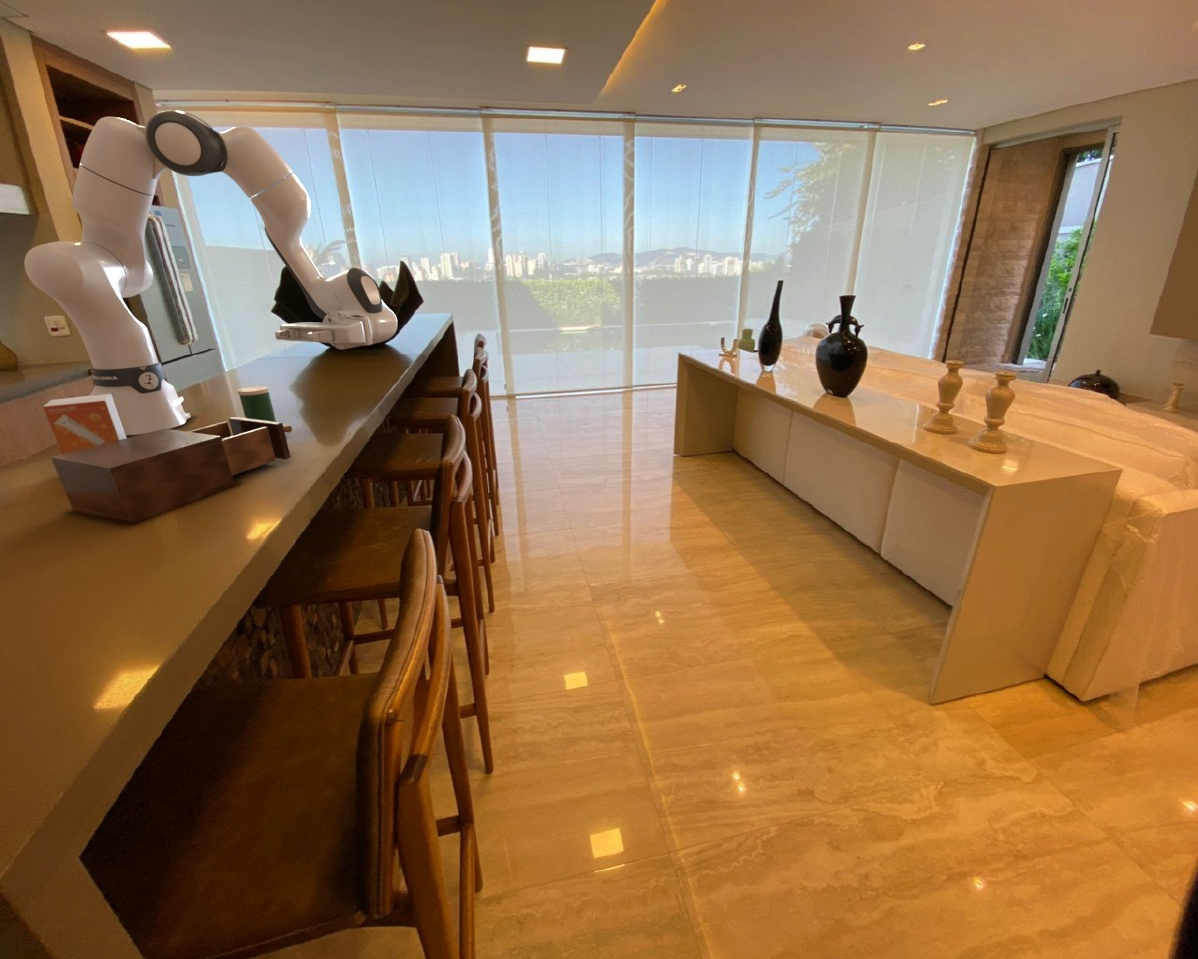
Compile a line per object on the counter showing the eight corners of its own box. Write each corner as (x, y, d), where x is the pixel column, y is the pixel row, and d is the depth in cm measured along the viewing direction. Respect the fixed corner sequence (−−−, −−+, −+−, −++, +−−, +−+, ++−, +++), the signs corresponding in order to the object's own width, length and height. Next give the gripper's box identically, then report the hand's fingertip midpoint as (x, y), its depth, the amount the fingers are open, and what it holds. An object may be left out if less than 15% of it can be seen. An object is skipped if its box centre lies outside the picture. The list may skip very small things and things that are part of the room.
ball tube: (245, 442, 111) (231, 390, 106) (268, 435, 115) (255, 385, 111) (263, 445, 109) (250, 392, 105) (286, 437, 113) (274, 387, 109)
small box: (71, 479, 92) (40, 406, 87) (78, 469, 96) (50, 399, 92) (131, 470, 96) (105, 399, 91) (135, 460, 101) (111, 393, 96)
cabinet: (180, 475, 93) (165, 428, 90) (235, 485, 89) (221, 436, 85) (73, 511, 80) (50, 457, 76) (131, 524, 75) (109, 468, 72)
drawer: (263, 444, 106) (254, 411, 104) (309, 450, 102) (301, 416, 100) (164, 476, 90) (151, 438, 88) (214, 485, 86) (202, 446, 84)
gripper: (307, 315, 129) (255, 320, 117) (373, 317, 123) (325, 322, 111) (312, 341, 132) (262, 349, 120) (378, 344, 125) (331, 353, 113)
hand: (293, 336), depth 115 cm, fingers open, 8 cm apart
